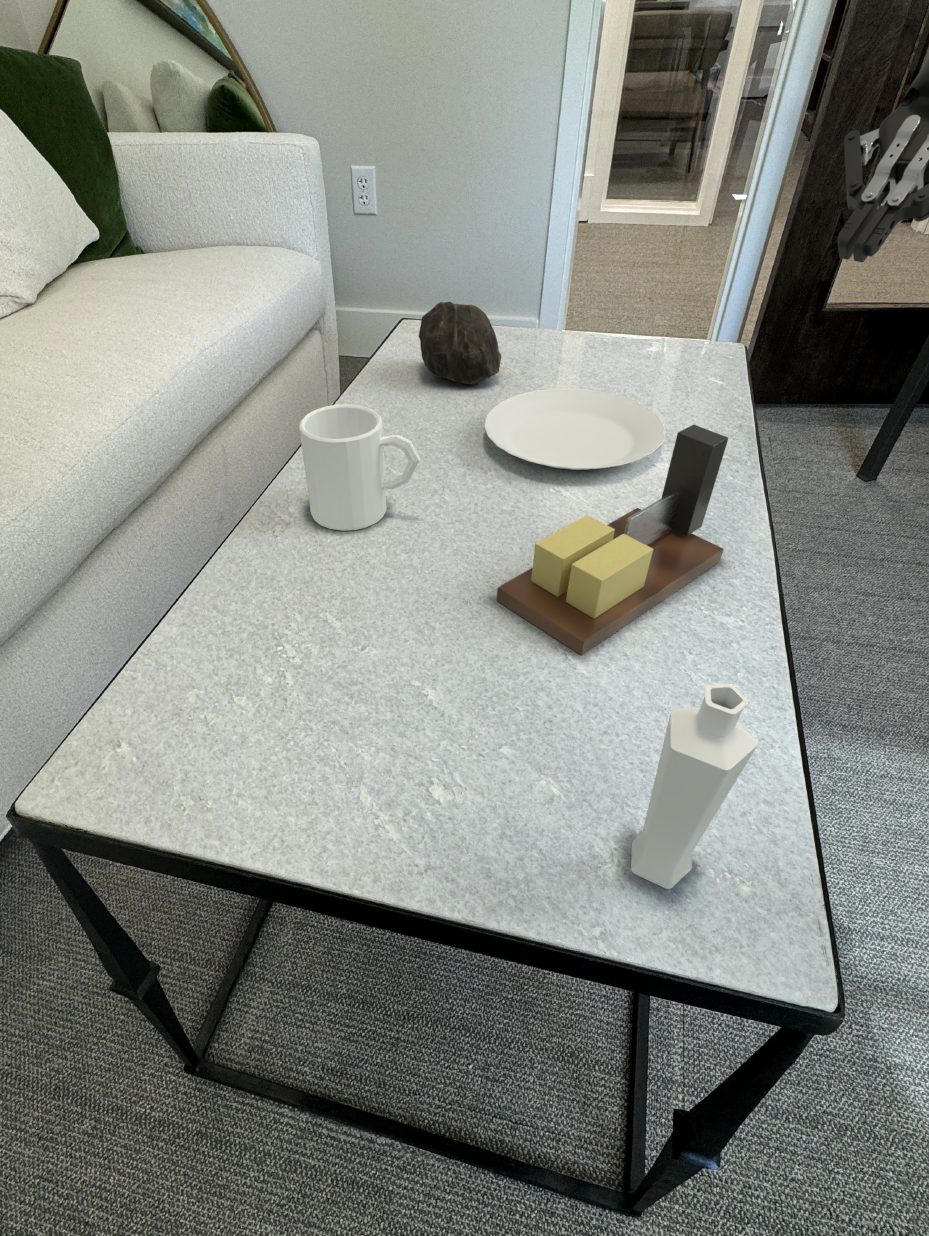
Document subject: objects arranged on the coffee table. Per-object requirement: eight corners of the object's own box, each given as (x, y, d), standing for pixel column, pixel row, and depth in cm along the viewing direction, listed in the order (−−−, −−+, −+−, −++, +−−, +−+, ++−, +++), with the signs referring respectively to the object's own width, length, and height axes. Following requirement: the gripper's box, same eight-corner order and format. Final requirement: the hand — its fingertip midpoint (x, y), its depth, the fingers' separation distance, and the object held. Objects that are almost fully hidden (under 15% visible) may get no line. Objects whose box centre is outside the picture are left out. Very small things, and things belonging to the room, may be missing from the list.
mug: (410, 541, 73) (407, 448, 66) (299, 525, 76) (286, 435, 69) (430, 500, 79) (430, 411, 72) (327, 487, 81) (317, 400, 74)
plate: (652, 407, 93) (656, 390, 91) (669, 491, 78) (674, 472, 77) (489, 402, 96) (491, 385, 94) (477, 482, 81) (478, 463, 80)
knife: (670, 513, 72) (693, 424, 66) (701, 527, 70) (728, 437, 64) (604, 552, 68) (622, 461, 61) (635, 569, 66) (657, 476, 59)
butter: (580, 551, 69) (586, 514, 66) (644, 586, 64) (653, 548, 62) (530, 580, 66) (535, 543, 63) (594, 619, 62) (601, 580, 59)
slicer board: (634, 520, 75) (637, 507, 74) (719, 562, 69) (724, 548, 68) (496, 600, 66) (497, 587, 65) (581, 655, 61) (583, 642, 60)
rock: (498, 388, 96) (493, 304, 90) (416, 395, 99) (405, 314, 93) (507, 367, 104) (502, 288, 98) (430, 374, 107) (421, 298, 101)
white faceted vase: (705, 849, 47) (785, 685, 37) (684, 902, 45) (763, 741, 34) (637, 819, 49) (693, 654, 38) (613, 868, 46) (666, 705, 36)
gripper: (902, 12, 61) (773, 212, 64) (1087, 15, 54) (930, 240, 57) (902, 88, 67) (785, 266, 70) (1069, 99, 60) (928, 298, 63)
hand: (850, 254), depth 64 cm, fingers closed
